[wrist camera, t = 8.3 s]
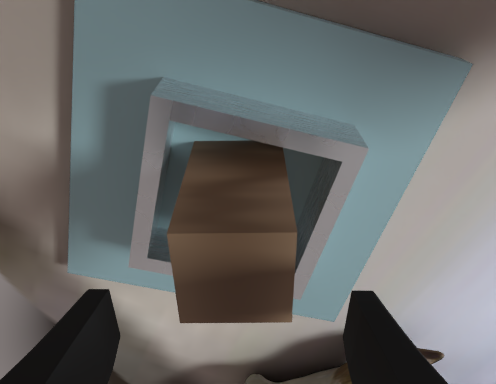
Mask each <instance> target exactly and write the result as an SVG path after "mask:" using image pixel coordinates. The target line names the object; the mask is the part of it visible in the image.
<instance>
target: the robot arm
mask: <svg viewBox="0 0 496 384" xmlns="http://www.w3.org/2000/svg"><path fill="white" fill-rule="evenodd" d="M119 340H120V332H119V328H118V324H117V320H116V315H115V311H114V307H113V303H112V299H111V295H110V291H109V289H88V290H87V291H86V292H85V293H84V294H83V296H82V297H81V298H80V299H79V300H78V301H77V302H76V303H75V304H74V305H73V306H72V307H71V309H70V310H69V311H68V312H67V313H66V314H65V315H64V316H63V317H62V318H61V319H60V321H59V322H58V323H57V324H56V325H55V326H54V327H53V328H52V329H51V330H50V331H49V332H48V333H47V335H45V336H44V338H43V339H42V340H41V341H40V342H39V343H38V344H37V345H36V346H35V347H34V348H33V349H32V350H31V351H30V352H29V353H28V354H27V355H26V356H25V357H24V358H23V359H22V360H21V361H20V362H19V363H18V364H17V365H15V366H14V367H13V368H12V369H11V370H10V371H9V372H8V373H7V374H6V375H5V376H4V377H3V378H2V379H1V380H0V384H108V381H109V378H110V375H111V373H112V370H113V366H114V362H115V358H116V353H117V349H118V344H119ZM343 340H344V347H345V353H346V359H347V365H348V370H349V374H350V378H351V382H352V384H448V383H447V382H446V381H445V380H444V379H443V377H442V376H441V375H440V374H439V373H438V372H437V371H436V370H435V369H434V367H433V366H432V365H431V364H430V363H429V362H428V361H427V359H426V358H425V357H424V356H423V355H422V353H421V352H420V351H419V350H418V349H417V347H416V346H415V345H414V344H413V343H412V341H411V340H410V339H409V338H408V336H407V335H406V334H405V333H404V331H403V330H402V329H401V327H400V326H399V325H398V324H397V322H396V321H395V320H394V318H393V317H392V316H391V314H390V313H389V312H388V310H387V309H386V308H385V306H384V305H383V304H382V302H381V301H380V299H379V298H378V297H377V295H376V294H375V293H374V292H373V291H352V292H351V298H350V303H349V308H348V313H347V318H346V324H345V329H344V334H343Z"/></svg>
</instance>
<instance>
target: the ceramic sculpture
mask: <svg viewBox="0 0 496 384" xmlns="http://www.w3.org/2000/svg"><path fill="white" fill-rule="evenodd" d="M417 349H418V350H419V351H420V352H421V353H422V355H423V356H424V357H425V358H426V359H427V361H428V362H429V363H430V364H433V363H435V362H437V361H439V360H441V359H442V358H443V357H444V355H443V353H441V352H439V351H433V350H427V349H420V348H417ZM245 384H352V382H351V378H350V374H349V370H348V365H347V363H345V364H343V365H341V366H340V367H338V368H333V369H329V370H325V371H321V372H317V373H314V374H311V375H308V376H305V377H301V378H297V379H292V380H288V381H285V382H281V383H274V382H271V381H269V380H267V379H265V378H264V377H263V376H262V375H260V374H252V375H250V376H249V377H248V378H247V379H246V381H245Z"/></svg>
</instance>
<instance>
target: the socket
mask: <svg viewBox="0 0 496 384" xmlns="http://www.w3.org/2000/svg"><path fill="white" fill-rule="evenodd" d="M175 122H178V123H182V124H186V125H191V126H195V127H199V128H203V129H207V130H212V131H216V132H220V133H224V134H228V135H233V136H237V137H241V138H245V139H249V140H254V141H258V142H262V143H266V144H270V145H274V146H279V147H283V148H287V149H291V150H295V151H300V152H304V153H308V154H312V155H316V156H321V157H323V160H322V162H321V165H320V168H319V170H318V173H317V175H316V178H315V180H314V183H313V185H312V188H311V190H310V193H309V195H308V198H307V201H306V203H305V206H304V208H303V211H302V213H301V216H300V218H299V221H298V223H297V226H296V228H297V246H296V262H295V278H294V294H293V299H298V300H301V298H302V295H303V293H304V291H305V289H306V287H307V284H308V282H309V280H310V278H311V276H312V273H313V271H314V269H315V267H316V265H317V262H318V260H319V258H320V256H321V254H322V251H323V249H324V247H325V245H326V243H327V240H328V238H329V236H330V234H331V232H332V229H333V227H334V225H335V223H336V221H337V218H338V216H339V214H340V212H341V210H342V207H343V205H344V203H345V201H346V199H347V196H348V194H349V192H350V190H351V188H352V185H353V183H354V181H355V179H356V177H357V174H358V172H359V170H360V168H361V166H362V163H363V161H364V159H365V157H366V155H367V152H368V150H369V147H368V146H367V144H366V143H365V141H364V139H363V138H362V136H361V134H360V133H359V131H358V130H357V128H356V126H355V125H353V124H349V123H345V122H341V121H337V120H333V119H329V118H325V117H321V116H317V115H313V114H309V113H305V112H301V111H297V110H293V109H289V108H285V107H281V106H277V105H273V104H269V103H265V102H261V101H257V100H253V99H249V98H245V97H241V96H237V95H233V94H229V93H225V92H221V91H218V90H214V89H210V88H206V87H202V86H198V85H194V84H190V83H186V82H182V81H178V80H174V79H170V78H166V77H163V78H162V80H161V81H160V82H159V84H158V85H157V87H156V88H155V90H154V91H153V92H152V94H151V96H150V104H149V111H148V119H147V127H146V134H145V142H144V150H143V157H142V165H141V173H140V180H139V188H138V196H137V203H136V211H135V219H134V226H133V234H132V242H131V249H130V257H129V265H128V267H129V268H134V269H139V270H145V271H150V272H155V273H161V274H166V275H171V276H173V272H172V266H171V259H170V252H169V246H168V239H167V231H168V228H163V227H158V222H159V216H160V210H161V204H162V198H163V192H164V186H165V180H166V175H167V169H168V163H169V157H170V151H171V145H172V139H173V133H174V127H175Z"/></svg>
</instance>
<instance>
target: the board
mask: <svg viewBox="0 0 496 384" xmlns="http://www.w3.org/2000/svg"><path fill="white" fill-rule="evenodd" d="M472 65H473V64H472V63H470V62H468V61H466V60H464V59H461V58H458V57H454V56H451V55H447V54H444V53H440V52H437V51H433V50H430V49H426V48H423V47H419V46H416V45H412V44H409V43H405V42H402V41H398V40H395V39H391V38H388V37H384V36H381V35H377V34H374V33H370V32H367V31H363V30H360V29H356V28H353V27H349V26H346V25H342V24H338V23H335V22H331V21H328V20H324V19H321V18H317V17H314V16H310V15H307V14H303V13H300V12H296V11H293V10H289V9H286V8H282V7H279V6H275V5H272V4H268V3H265V2H261V1H258V0H75V7H74V45H73V84H72V123H71V162H70V201H69V240H68V273H71V274H77V275H82V276H88V277H93V278H99V279H104V280H109V281H115V282H120V283H126V284H131V285H137V286H142V287H148V288H153V289H158V290H164V291H169V292H175V286H174V279H173V276H171V275H166V274H161V273H155V272H150V271H145V270H139V269H134V268H129V267H128V265H129V257H130V249H131V242H132V234H133V226H134V219H135V211H136V203H137V196H138V188H139V180H140V173H141V165H142V157H143V150H144V142H145V134H146V127H147V119H148V111H149V104H150V96H151V94H152V92H153V91H154V90H155V88H156V87H157V85H158V84H159V82H160V81H161V80H162V78H163V77H166V78H170V79H174V80H178V81H182V82H186V83H190V84H194V85H198V86H202V87H206V88H210V89H214V90H218V91H221V92H225V93H229V94H233V95H237V96H241V97H245V98H249V99H253V100H257V101H261V102H265V103H269V104H273V105H277V106H281V107H285V108H289V109H293V110H297V111H301V112H305V113H309V114H313V115H317V116H321V117H325V118H329V119H333V120H337V121H341V122H345V123H349V124H353V125H355V126H356V128H357V130H358V131H359V133H360V134H361V136H362V138H363V139H364V141H365V143H366V144H367V146H368V147H369V150H368V152H367V155H366V157H365V159H364V161H363V163H362V166H361V168H360V170H359V172H358V174H357V177H356V179H355V181H354V183H353V185H352V188H351V190H350V192H349V194H348V196H347V199H346V201H345V203H344V205H343V207H342V210H341V212H340V214H339V216H338V218H337V221H336V223H335V225H334V227H333V229H332V232H331V234H330V236H329V238H328V240H327V243H326V245H325V247H324V249H323V251H322V254H321V256H320V258H319V260H318V262H317V265H316V267H315V269H314V271H313V273H312V276H311V278H310V280H309V282H308V284H307V287H306V289H305V291H304V293H303V295H302V298H301V300H298V299H293V310H292V314H294V315H300V316H305V317H311V318H316V319H322V320H327V321H332V322H334V321H335V320H336V318H337V316H338V314H339V312H340V310H341V308H342V307H343V305H344V303H345V301H346V299H347V297H348V295H349V294H350V292H351V290H352V288H353V286H354V284H355V282H356V281H357V279H358V277H359V275H360V273H361V271H362V269H363V268H364V266H365V264H366V262H367V260H368V258H369V256H370V255H371V253H372V251H373V249H374V247H375V245H376V243H377V242H378V240H379V238H380V236H381V234H382V232H383V230H384V229H385V227H386V225H387V223H388V221H389V219H390V217H391V216H392V214H393V212H394V210H395V208H396V206H397V204H398V203H399V201H400V199H401V197H402V195H403V193H404V191H405V190H406V188H407V186H408V184H409V182H410V180H411V178H412V177H413V175H414V173H415V171H416V169H417V167H418V165H419V164H420V162H421V160H422V158H423V156H424V154H425V152H426V151H427V149H428V147H429V145H430V143H431V141H432V139H433V138H434V136H435V134H436V132H437V130H438V128H439V126H440V125H441V123H442V121H443V119H444V117H445V115H446V113H447V112H448V110H449V108H450V106H451V104H452V102H453V100H454V99H455V97H456V95H457V93H458V91H459V89H460V87H461V86H462V84H463V82H464V80H465V78H466V76H467V74H468V73H469V71H470V69H471V67H472ZM239 140H249V139H245V138H241V137H237V136H233V135H228V134H224V133H220V132H216V131H212V130H207V129H203V128H199V127H195V126H191V125H186V124H182V123H178V122H175V127H174V133H173V139H172V145H171V151H170V157H169V163H168V169H167V175H166V180H165V186H164V192H163V198H162V204H161V210H160V216H159V222H158V227H163V228H169V224H170V221H171V218H172V214H173V211H174V207H175V204H176V201H177V197H178V194H179V191H180V187H181V184H182V180H183V177H184V174H185V170H186V167H187V164H188V160H189V157H190V154H191V150H192V147H193V143H194V141H239ZM283 152H284V157H285V163H286V169H287V175H288V181H289V187H290V192H291V198H292V204H293V210H294V216H295V222H296V226H297V223H298V221H299V218H300V216H301V213H302V211H303V208H304V206H305V203H306V201H307V198H308V195H309V193H310V190H311V188H312V185H313V183H314V180H315V178H316V175H317V173H318V170H319V168H320V165H321V162H322V160H323V157H321V156H316V155H312V154H308V153H304V152H300V151H295V150H291V149H287V148H283ZM175 293H176V292H175Z"/></svg>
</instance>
